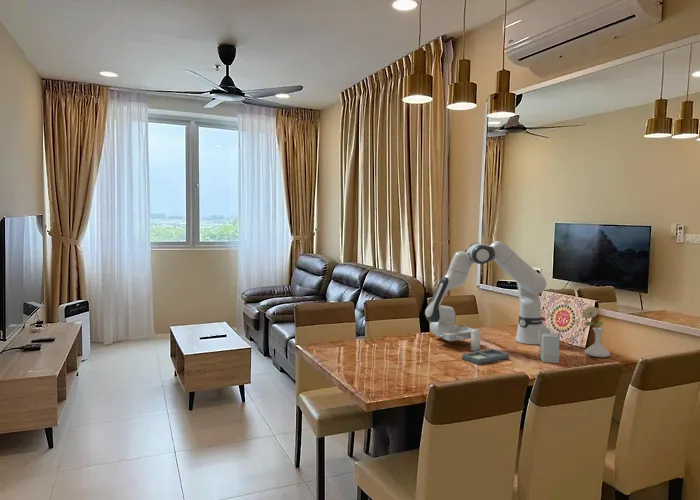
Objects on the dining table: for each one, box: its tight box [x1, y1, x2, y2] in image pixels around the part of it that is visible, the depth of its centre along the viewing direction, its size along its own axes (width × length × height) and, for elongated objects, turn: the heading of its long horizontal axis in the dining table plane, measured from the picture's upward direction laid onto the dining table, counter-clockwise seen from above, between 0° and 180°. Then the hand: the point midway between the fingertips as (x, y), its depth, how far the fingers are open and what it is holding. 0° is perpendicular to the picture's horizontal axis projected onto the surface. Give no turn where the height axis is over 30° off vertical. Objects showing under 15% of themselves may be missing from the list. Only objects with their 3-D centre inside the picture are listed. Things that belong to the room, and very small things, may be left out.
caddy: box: [461, 348, 510, 366], centre depth 233 cm, size 20×11×2 cm, turn 120°
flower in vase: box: [581, 305, 611, 358], centre depth 238 cm, size 13×11×25 cm
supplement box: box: [539, 332, 560, 364], centre depth 230 cm, size 7×7×13 cm
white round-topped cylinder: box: [470, 328, 481, 352], centre depth 248 cm, size 5×5×11 cm
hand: (470, 337), depth 251 cm, fingers open, 8 cm apart
